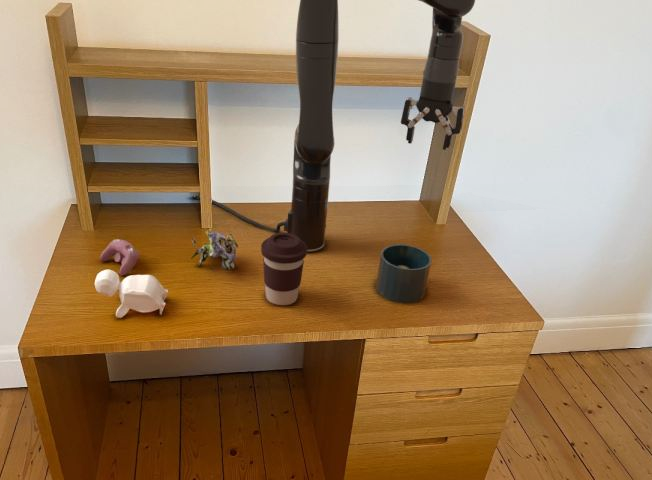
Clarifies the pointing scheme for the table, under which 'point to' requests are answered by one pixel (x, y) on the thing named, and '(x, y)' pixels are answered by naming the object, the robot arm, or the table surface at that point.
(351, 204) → the table surface
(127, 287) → the white turtle figurine
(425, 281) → the pen pot
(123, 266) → the video game controller
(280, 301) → the coffee cup
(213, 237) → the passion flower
